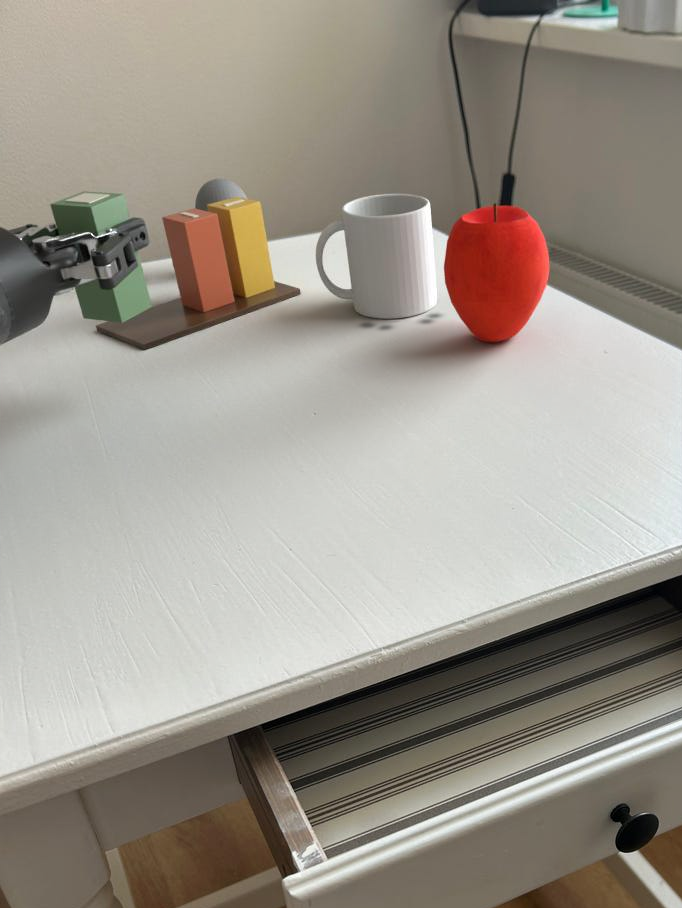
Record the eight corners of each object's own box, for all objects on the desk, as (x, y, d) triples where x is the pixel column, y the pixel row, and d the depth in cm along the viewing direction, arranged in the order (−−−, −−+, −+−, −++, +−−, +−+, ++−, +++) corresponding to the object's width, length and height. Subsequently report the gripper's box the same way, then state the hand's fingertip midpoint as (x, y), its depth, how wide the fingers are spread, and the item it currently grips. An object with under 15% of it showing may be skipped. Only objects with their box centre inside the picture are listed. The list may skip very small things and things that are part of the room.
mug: (451, 295, 105) (444, 196, 99) (409, 325, 99) (400, 221, 92) (364, 285, 109) (353, 189, 103) (318, 314, 102) (303, 213, 96)
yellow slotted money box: (224, 291, 108) (206, 203, 102) (253, 281, 110) (237, 195, 105) (246, 298, 106) (229, 209, 100) (275, 288, 108) (260, 200, 102)
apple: (550, 355, 91) (549, 216, 83) (444, 358, 91) (434, 221, 84) (549, 317, 99) (548, 187, 91) (452, 320, 99) (443, 191, 92)
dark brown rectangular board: (96, 331, 102) (95, 325, 101) (251, 279, 113) (250, 273, 112) (144, 350, 97) (143, 344, 96) (301, 293, 108) (300, 288, 108)
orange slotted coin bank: (182, 305, 105) (161, 216, 99) (212, 294, 107) (194, 207, 102) (203, 312, 103) (183, 221, 97) (234, 302, 105) (216, 212, 99)
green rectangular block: (83, 318, 81) (49, 202, 76) (114, 302, 84) (83, 189, 79) (122, 323, 80) (90, 205, 74) (152, 306, 83) (123, 192, 77)
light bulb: (244, 259, 119) (227, 170, 113) (269, 269, 116) (253, 178, 109) (200, 270, 116) (180, 180, 110) (224, 281, 113) (205, 188, 106)
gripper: (24, 249, 64) (181, 183, 76) (-134, 234, 68) (38, 175, 81) (60, 360, 68) (202, 281, 81) (-91, 339, 73) (66, 268, 85)
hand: (119, 228), depth 80 cm, fingers closed on green rectangular block, 4 cm apart
